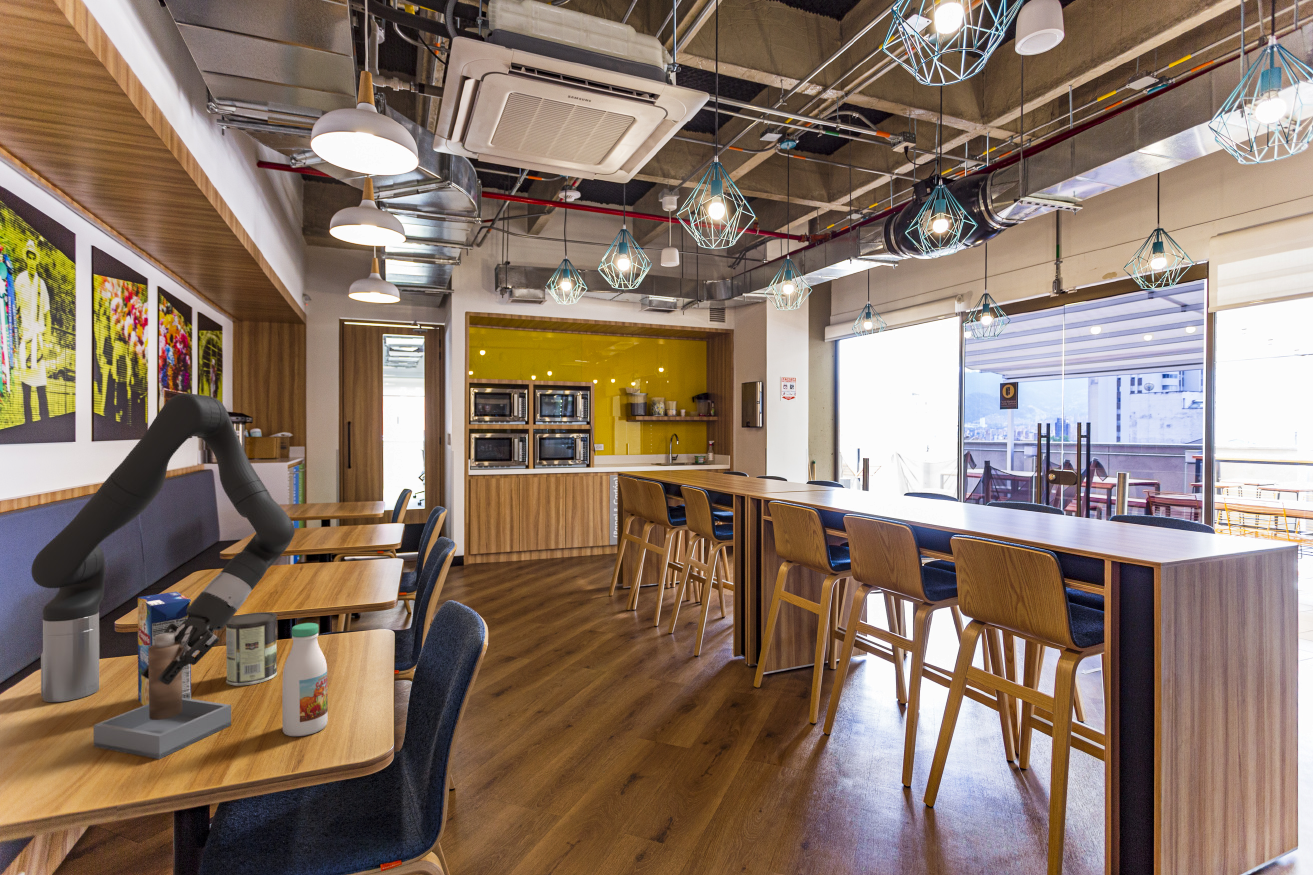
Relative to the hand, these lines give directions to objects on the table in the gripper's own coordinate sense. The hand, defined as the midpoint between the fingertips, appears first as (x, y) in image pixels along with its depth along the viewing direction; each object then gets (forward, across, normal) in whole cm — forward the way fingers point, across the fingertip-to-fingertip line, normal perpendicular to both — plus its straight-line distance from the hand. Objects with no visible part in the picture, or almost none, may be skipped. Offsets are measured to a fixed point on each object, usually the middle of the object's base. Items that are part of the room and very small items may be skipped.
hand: (154, 679), depth 123 cm
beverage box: (0, -18, +16) cm, 24 cm away
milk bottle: (-3, +21, +19) cm, 28 cm away
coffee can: (-11, -15, +28) cm, 33 cm away
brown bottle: (+4, 0, +6) cm, 7 cm away
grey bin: (+7, 0, +9) cm, 11 cm away
